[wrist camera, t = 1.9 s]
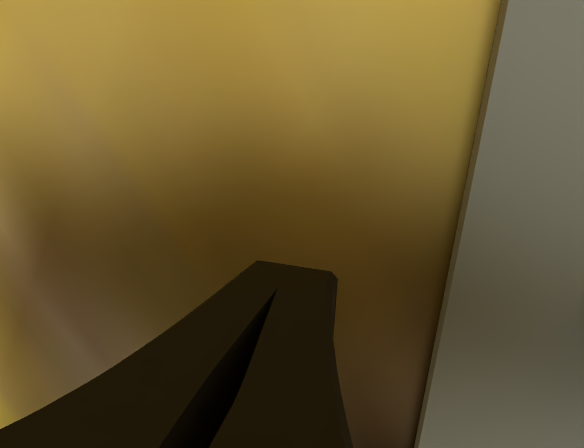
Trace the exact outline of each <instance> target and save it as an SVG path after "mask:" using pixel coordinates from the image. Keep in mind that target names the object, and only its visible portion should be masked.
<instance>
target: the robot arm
mask: <svg viewBox="0 0 584 448" xmlns="http://www.w3.org/2000/svg"><path fill="white" fill-rule="evenodd" d="M337 281H338V279H337V278H336V276H335V275H334V274H333V273H332V272H331V271H324V270H317V269H311V268H304V267H298V266H291V265H285V264H278V263H272V262H265V261H256V262H255V263H253V264H252V265H251V266H249V267H248V268H247V269H245V270H244V271H243V272H242V273H240V274H239V275H238V276H236V277H235V278H234V279H233V280H231V281H230V282H229V283H228V284H226V285H225V286H224V287H223V288H221V289H220V290H219V291H218V292H216V293H215V294H214V295H213V296H211V297H210V298H209V299H207V300H206V301H205V302H204V303H202V304H201V305H200V306H198V307H197V308H196V309H194V310H193V311H192V312H190V313H189V314H188V315H186V316H185V317H184V318H182V319H181V320H180V321H178V322H177V323H176V324H174V325H173V326H172V327H170V328H169V329H168V330H166V331H165V332H164V333H162V334H161V335H159V336H158V337H157V338H155V339H154V340H152V341H151V342H149V343H148V344H146V345H145V346H143V347H142V348H140V349H139V350H137V351H136V352H134V353H133V354H131V355H130V356H128V357H127V358H125V359H124V360H123V361H121V362H120V363H118V364H117V365H115V366H114V367H112V368H110V369H109V370H107V371H106V372H104V373H102V374H101V375H99V376H97V377H96V378H94V379H92V380H91V381H89V382H87V383H86V384H84V385H82V386H81V387H79V388H77V389H75V390H74V391H72V392H70V393H68V394H66V395H65V396H63V397H61V398H59V399H58V400H56V401H54V402H52V403H50V404H49V405H47V406H45V407H43V408H41V409H40V410H38V411H36V412H34V413H32V414H30V415H28V416H26V417H24V418H22V419H20V420H18V421H16V422H14V423H12V424H10V425H8V426H6V427H4V428H2V429H0V448H353V445H352V441H351V437H350V433H349V429H348V424H347V420H346V415H345V411H344V406H343V401H342V396H341V391H340V385H339V379H338V374H337V366H336V358H335V350H334V342H333V334H334V321H335V307H336V294H337Z"/></svg>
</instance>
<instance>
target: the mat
mask: <svg viewBox="0 0 584 448" xmlns="http://www.w3.org/2000/svg"><path fill="white" fill-rule="evenodd" d="M414 448H584V0H501V5H500V11H499V16H498V21H497V26H496V31H495V36H494V41H493V46H492V51H491V57H490V62H489V67H488V72H487V77H486V82H485V87H484V92H483V97H482V103H481V108H480V113H479V118H478V123H477V128H476V133H475V138H474V143H473V149H472V154H471V159H470V164H469V169H468V174H467V179H466V184H465V189H464V195H463V200H462V205H461V210H460V215H459V220H458V225H457V230H456V235H455V241H454V246H453V251H452V256H451V261H450V266H449V271H448V276H447V281H446V287H445V292H444V297H443V302H442V307H441V312H440V317H439V322H438V327H437V333H436V338H435V343H434V348H433V353H432V358H431V363H430V368H429V373H428V379H427V384H426V389H425V394H424V399H423V404H422V409H421V414H420V419H419V425H418V430H417V435H416V440H415V445H414Z"/></svg>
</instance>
